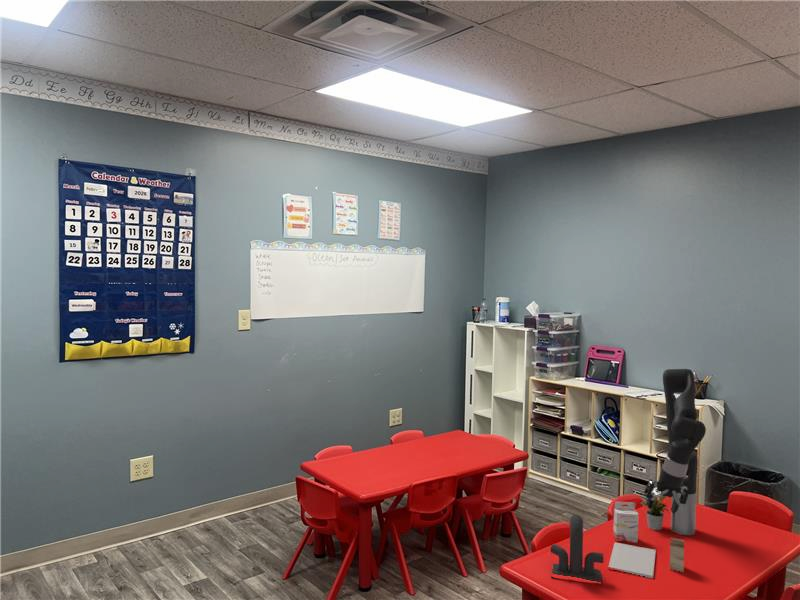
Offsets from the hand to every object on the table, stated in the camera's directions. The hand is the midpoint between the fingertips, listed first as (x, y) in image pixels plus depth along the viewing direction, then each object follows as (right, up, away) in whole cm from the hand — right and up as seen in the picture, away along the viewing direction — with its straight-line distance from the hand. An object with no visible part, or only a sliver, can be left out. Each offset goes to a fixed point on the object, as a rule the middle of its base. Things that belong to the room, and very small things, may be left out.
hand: (660, 509), depth 214 cm
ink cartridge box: (-2, -22, +29) cm, 36 cm away
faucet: (-29, -23, +3) cm, 38 cm away
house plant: (+14, -22, +40) cm, 48 cm away
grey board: (-6, -23, +11) cm, 26 cm away
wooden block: (+8, -23, +5) cm, 25 cm away
